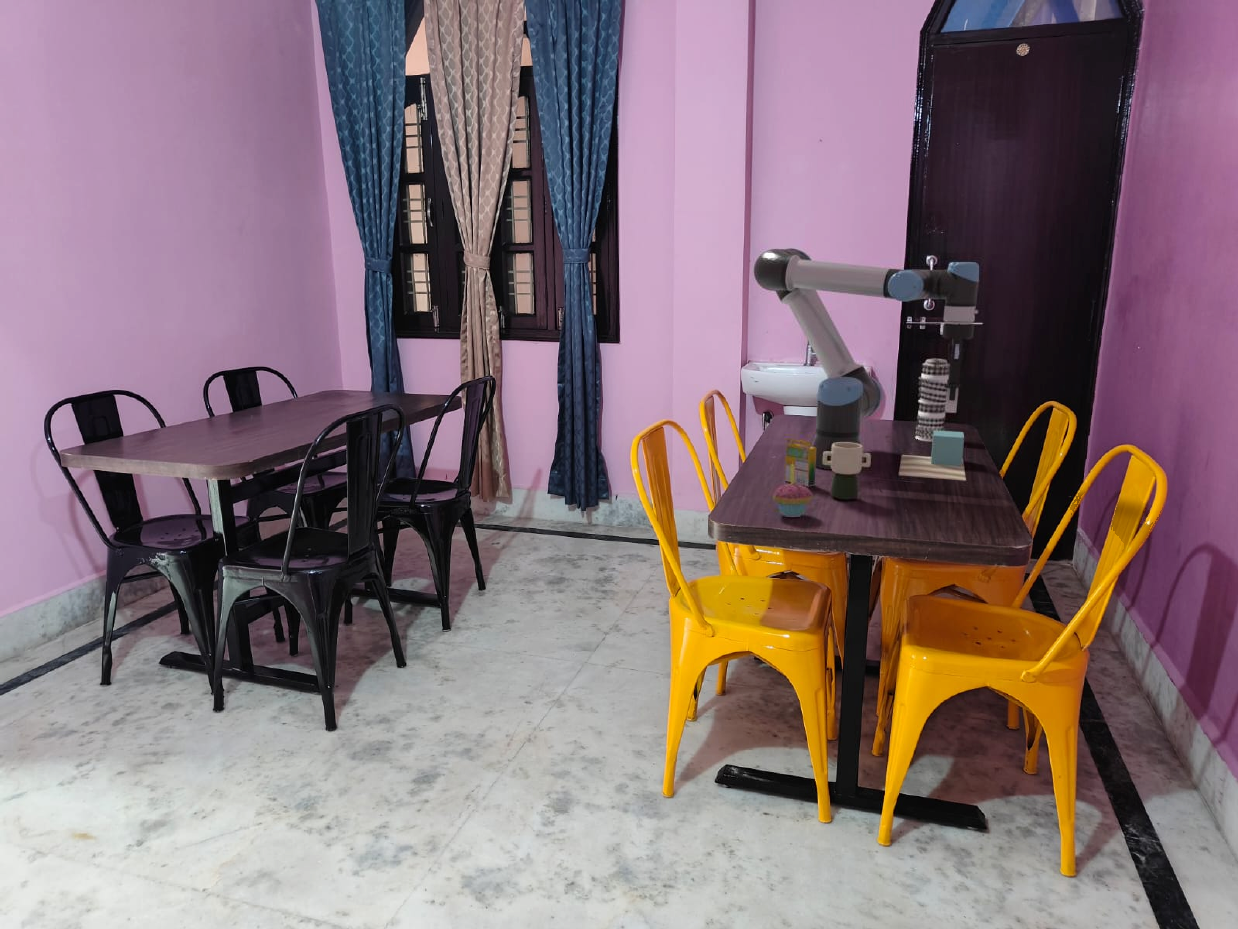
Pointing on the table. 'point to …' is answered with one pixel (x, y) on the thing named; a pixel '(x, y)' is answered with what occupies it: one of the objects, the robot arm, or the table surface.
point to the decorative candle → (932, 398)
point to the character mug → (846, 468)
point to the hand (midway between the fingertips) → (950, 411)
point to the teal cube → (947, 448)
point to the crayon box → (800, 462)
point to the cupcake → (792, 497)
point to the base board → (929, 468)
